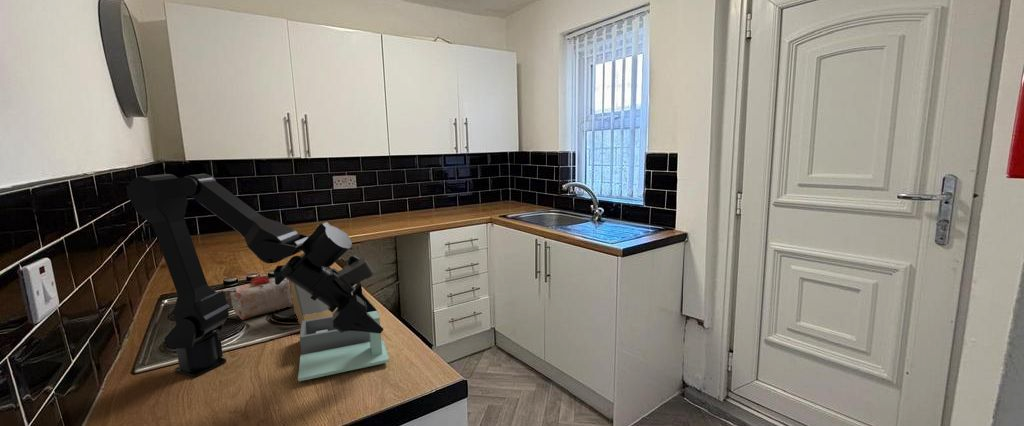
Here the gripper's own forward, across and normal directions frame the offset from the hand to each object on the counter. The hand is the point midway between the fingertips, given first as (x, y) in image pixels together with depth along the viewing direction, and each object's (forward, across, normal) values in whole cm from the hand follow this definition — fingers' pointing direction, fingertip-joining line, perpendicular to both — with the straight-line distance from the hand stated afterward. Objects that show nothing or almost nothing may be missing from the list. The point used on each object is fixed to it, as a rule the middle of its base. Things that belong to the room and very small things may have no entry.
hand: (379, 322), depth 89 cm
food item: (-13, +38, +24) cm, 47 cm away
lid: (0, 0, +11) cm, 11 cm away
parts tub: (0, +11, +11) cm, 15 cm away
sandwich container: (-3, +26, +15) cm, 30 cm away
